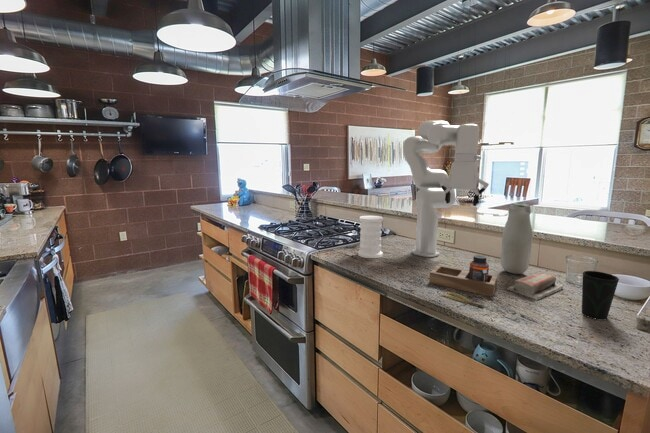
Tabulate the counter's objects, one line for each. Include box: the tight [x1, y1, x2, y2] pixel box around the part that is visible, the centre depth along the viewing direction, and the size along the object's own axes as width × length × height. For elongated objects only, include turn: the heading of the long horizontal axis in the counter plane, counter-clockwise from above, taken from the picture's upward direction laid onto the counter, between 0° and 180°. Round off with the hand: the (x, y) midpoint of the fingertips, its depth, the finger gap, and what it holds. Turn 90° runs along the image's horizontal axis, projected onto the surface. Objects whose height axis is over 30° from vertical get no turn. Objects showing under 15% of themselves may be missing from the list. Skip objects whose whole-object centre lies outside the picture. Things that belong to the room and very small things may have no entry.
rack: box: [428, 264, 498, 298], centre depth 113 cm, size 11×21×4 cm, turn 56°
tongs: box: [443, 291, 485, 309], centre depth 100 cm, size 4×13×2 cm, turn 42°
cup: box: [581, 270, 620, 320], centre depth 90 cm, size 8×8×12 cm
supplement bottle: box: [468, 254, 490, 282], centre depth 110 cm, size 6×6×11 cm
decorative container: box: [357, 215, 384, 259], centre depth 148 cm, size 12×12×18 cm
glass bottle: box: [500, 202, 534, 275], centre depth 123 cm, size 10×10×28 cm
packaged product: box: [506, 273, 564, 301], centre depth 109 cm, size 18×5×10 cm
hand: (461, 204), depth 121 cm, fingers open, 9 cm apart
